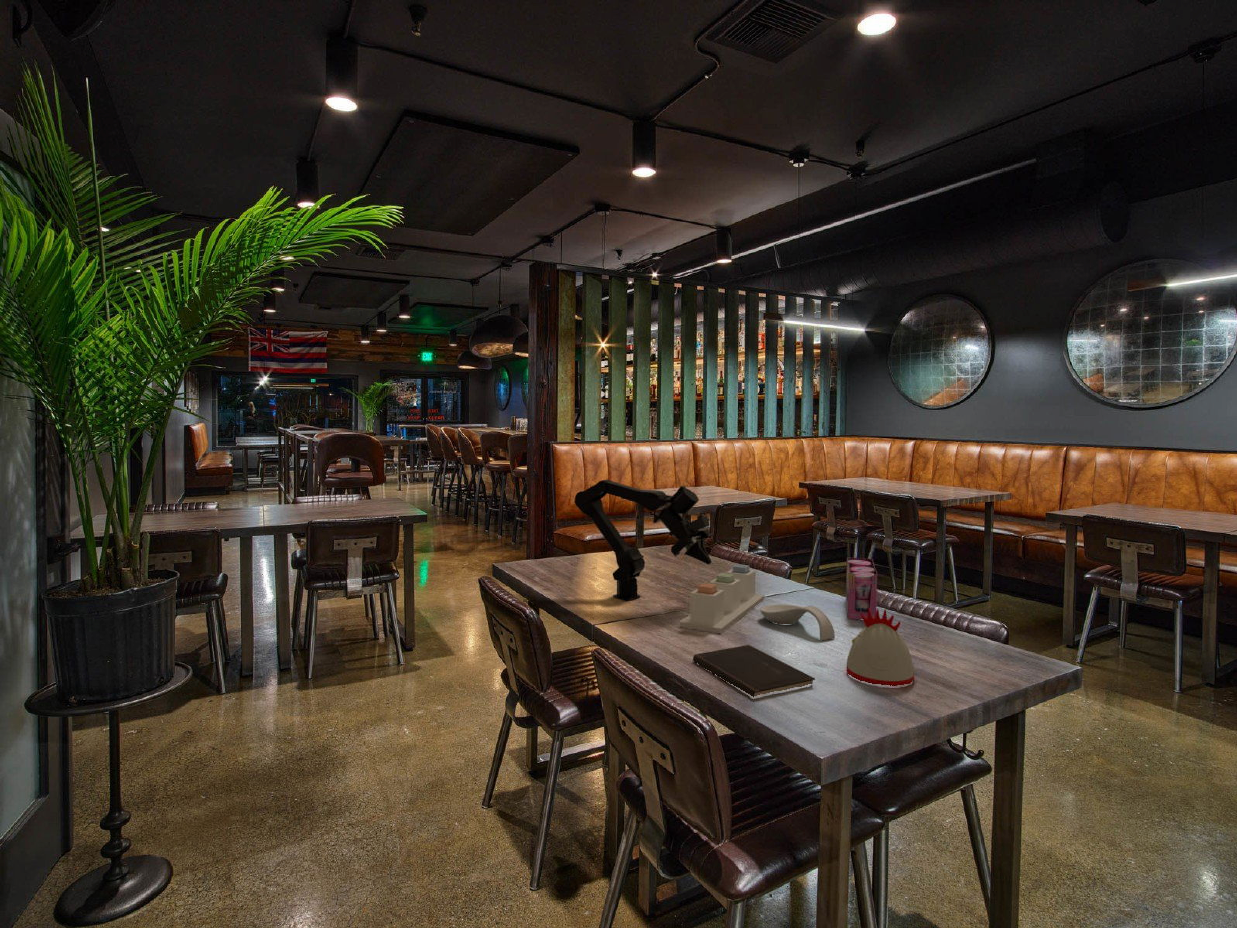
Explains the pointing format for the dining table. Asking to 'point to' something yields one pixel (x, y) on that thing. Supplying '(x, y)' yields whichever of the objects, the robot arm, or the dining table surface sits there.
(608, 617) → the dining table surface
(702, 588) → the terracotta button
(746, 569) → the slate blue button
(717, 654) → the hardcover book
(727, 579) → the sage green button
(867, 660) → the tan and red dome
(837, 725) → the dining table surface
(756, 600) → the button console
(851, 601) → the gum box
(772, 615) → the spoon rest
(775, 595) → the dining table surface
